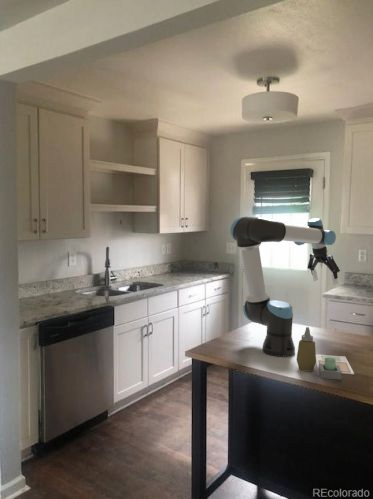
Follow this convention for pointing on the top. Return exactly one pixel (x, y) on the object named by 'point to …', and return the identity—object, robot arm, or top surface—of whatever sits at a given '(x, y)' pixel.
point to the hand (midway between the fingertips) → (325, 282)
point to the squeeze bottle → (306, 352)
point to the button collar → (330, 372)
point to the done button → (330, 364)
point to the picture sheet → (340, 361)
